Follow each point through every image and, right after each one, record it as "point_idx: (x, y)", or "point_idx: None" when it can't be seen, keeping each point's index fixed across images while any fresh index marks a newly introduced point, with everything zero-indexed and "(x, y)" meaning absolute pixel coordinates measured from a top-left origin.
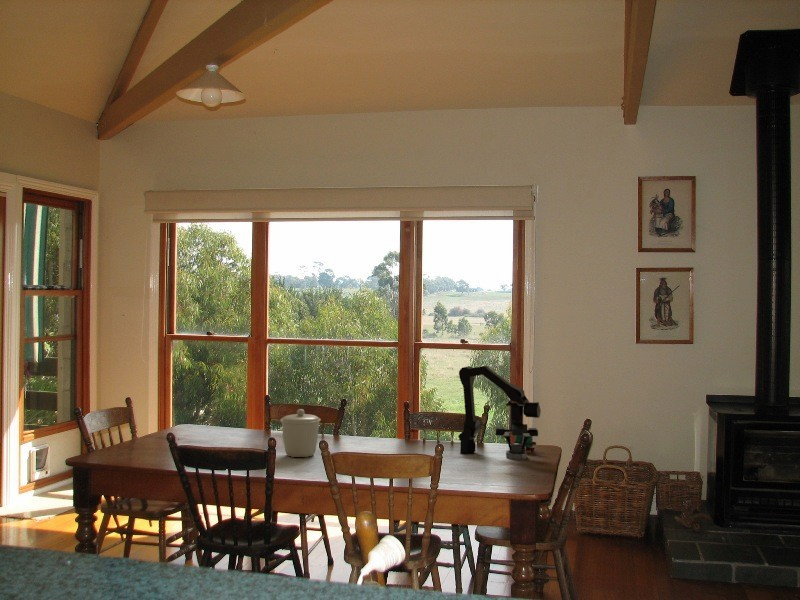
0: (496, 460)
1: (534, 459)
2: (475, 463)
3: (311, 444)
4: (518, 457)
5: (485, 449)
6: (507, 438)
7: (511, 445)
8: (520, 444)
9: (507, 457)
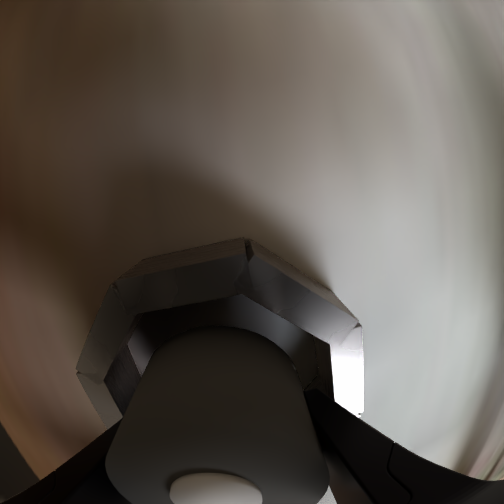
0: (422, 141)
1: (37, 321)
2: (498, 31)
3: None
4: (167, 260)
5: (449, 465)
6: (493, 502)
7: (313, 443)
8: (141, 492)
9: (326, 288)
